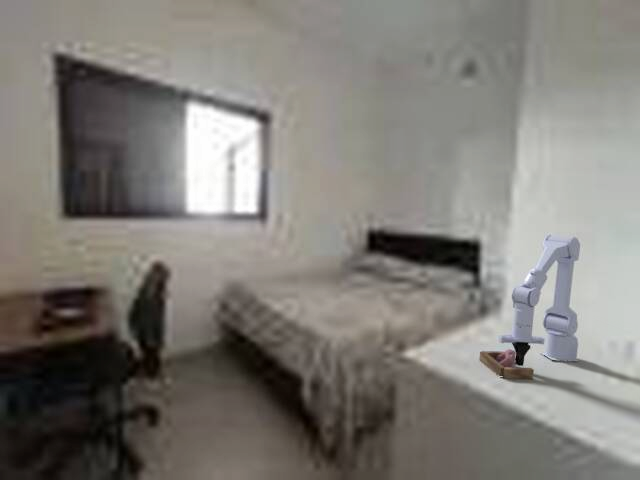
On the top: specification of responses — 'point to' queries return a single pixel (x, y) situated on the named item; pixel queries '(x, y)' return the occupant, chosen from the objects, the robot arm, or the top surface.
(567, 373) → the top surface
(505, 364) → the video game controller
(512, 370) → the docking bay
